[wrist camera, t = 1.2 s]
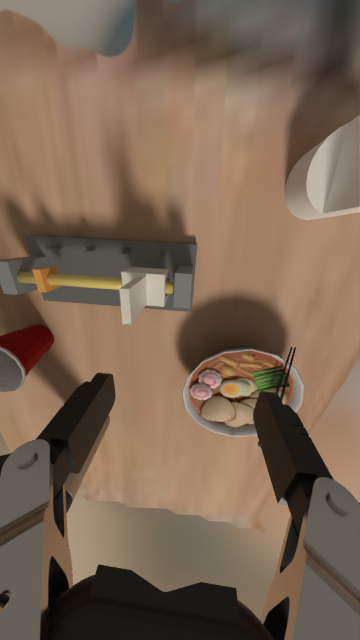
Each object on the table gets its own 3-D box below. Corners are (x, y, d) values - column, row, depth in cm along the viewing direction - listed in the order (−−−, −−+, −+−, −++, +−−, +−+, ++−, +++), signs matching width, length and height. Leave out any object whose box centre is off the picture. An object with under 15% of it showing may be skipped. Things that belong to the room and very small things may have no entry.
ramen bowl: (186, 320, 37) (183, 341, 30) (302, 327, 36) (329, 351, 28) (182, 407, 48) (180, 438, 40) (272, 415, 46) (286, 449, 39)
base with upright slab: (293, 145, 25) (366, 75, 14) (363, 143, 24) (498, 67, 13) (278, 220, 29) (327, 210, 18) (339, 219, 28) (429, 208, 17)
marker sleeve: (169, 269, 29) (153, 288, 18) (168, 297, 31) (153, 328, 20) (132, 266, 29) (95, 283, 19) (133, 294, 31) (101, 324, 20)
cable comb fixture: (196, 244, 31) (196, 246, 23) (191, 309, 36) (189, 329, 28) (31, 235, 33) (-21, 234, 25) (48, 298, 38) (9, 314, 30)
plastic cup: (70, 356, 44) (29, 396, 33) (28, 353, 45) (-25, 391, 34) (59, 315, 40) (7, 345, 29) (13, 313, 40) (-56, 341, 29)
